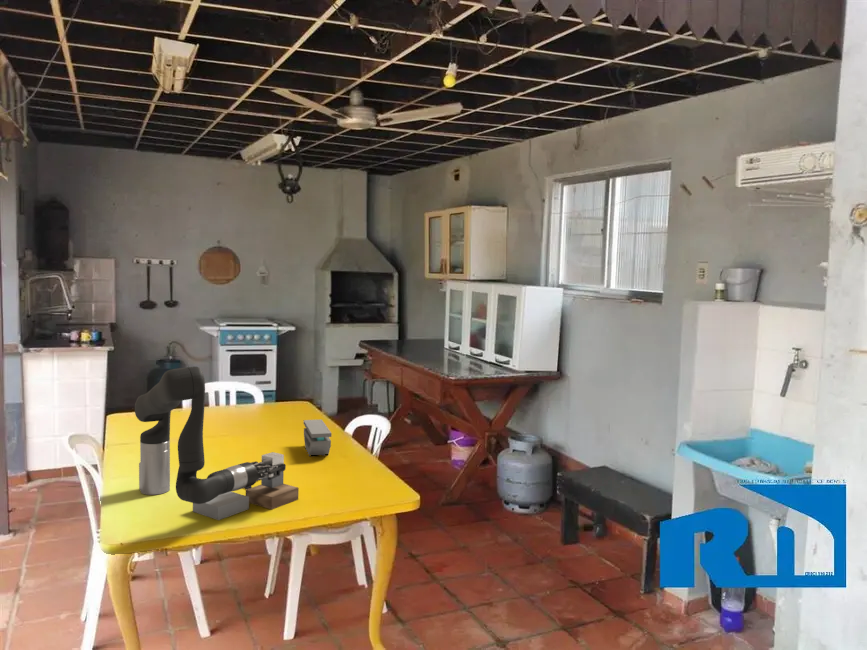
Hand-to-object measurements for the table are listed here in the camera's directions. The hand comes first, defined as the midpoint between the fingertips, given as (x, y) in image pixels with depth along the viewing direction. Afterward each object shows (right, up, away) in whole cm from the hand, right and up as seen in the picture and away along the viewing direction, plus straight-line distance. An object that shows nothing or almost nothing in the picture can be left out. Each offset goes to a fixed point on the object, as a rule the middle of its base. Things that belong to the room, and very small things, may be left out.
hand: (278, 465), depth 226 cm
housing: (-2, -6, -2) cm, 7 cm away
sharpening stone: (+3, -7, +59) cm, 59 cm away
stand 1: (-15, -12, -11) cm, 23 cm away
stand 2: (-2, -11, -1) cm, 12 cm away
